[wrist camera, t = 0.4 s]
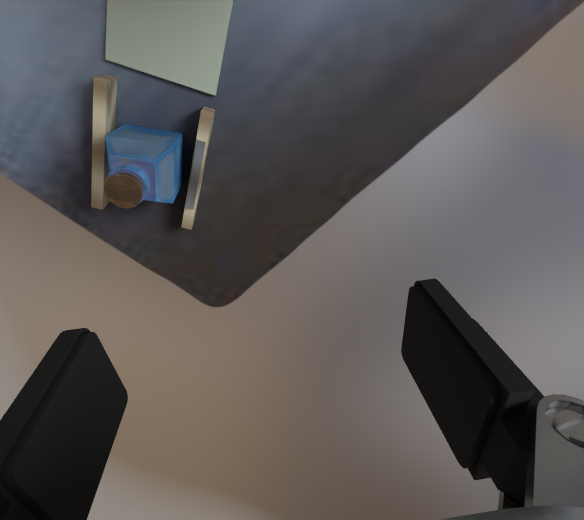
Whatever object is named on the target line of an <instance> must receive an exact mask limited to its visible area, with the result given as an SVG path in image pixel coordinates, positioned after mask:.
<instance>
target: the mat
mask: <svg viewBox="0 0 584 520" xmlns="http://www.w3.org/2000/svg"><path fill="white" fill-rule="evenodd" d="M232 6H233V0H107V25H106V56H105V59H106V60H109V61H112V62H115V63H118V64H121V65H124V66H127V67H130V68H133V69H136V70H139V71H142V72H145V73H148V74H151V75H154V76H157V77H160V78H163V79H166V80H169V81H172V82H175V83H178V84H181V85H184V86H187V87H190V88H194V89H197V90H200V91H203V92H206V93H209V94H212V95H215V96H216V92H217V87H218V81H219V76H220V70H221V65H222V60H223V54H224V49H225V43H226V38H227V33H228V27H229V22H230V16H231V11H232Z"/></svg>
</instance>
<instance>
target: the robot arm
mask: <svg viewBox="0 0 584 520" xmlns="http://www.w3.org/2000/svg"><path fill="white" fill-rule="evenodd" d="M401 351H402V356H403V360H404V361H405V364H406V365H407V367H408V369H409V371H410V373H411V375H412V377H413V379H414V380H415V382H416V384H417V386H418V388H419V390H420V392H421V393H422V395H423V397H424V399H425V401H426V403H427V404H428V407H429V408H430V410H431V412H432V414H433V416H434V418H435V420H436V421H437V423H438V425H439V427H440V429H441V431H442V433H443V434H444V436H445V438H446V440H447V442H448V444H449V446H450V448H451V449H452V451H453V453H454V455H455V457H456V459H457V460H458V462H459V464H460V465H461V466H462V467H463V468H468V470H469V471H470V473H471V475H472V476H473V479H474V480H479V479H485V478H490V477H491V479H492V480H493V482H494V484H495V485H496V487H497V489H498V490H500V493H499V502H498V510H496V511H490V512H484V513H477V514H471V515H466V516H459V517H452V518H446V519H440V520H584V401H582V400H580V399H578V398H575V397H571V396H567V395H555V394H553V395H549V396H546V397H544V396H543V395H542V394H541V392H540V391H539V390H538V389H537V388H536V387H535V386H534V385H533V383H532V382H531V381H530V380H529V379H528V378H527V377H526V376H525V375H524V374H523V372H522V371H521V370H520V369H519V368H518V367H517V366H516V365H515V364H514V362H513V361H512V360H511V359H510V358H509V357H508V356H507V355H506V353H505V352H504V351H503V350H502V349H501V348H500V347H499V346H498V345H497V344H496V342H495V341H494V340H493V339H492V338H491V337H490V336H489V335H488V333H487V332H486V331H485V330H484V329H483V328H482V327H481V326H480V325H479V324H478V323H477V322H476V321H475V320H474V319H472V318H471V317H470V316H469V315H468V314H467V312H466V311H465V310H464V309H463V308H462V307H461V306H460V304H459V303H458V302H457V301H456V300H455V299H454V298H453V297H452V296H451V294H450V293H449V292H448V291H447V290H446V289H445V288H444V286H443V285H442V284H441V283H440V282H439V281H438V280H437V279H429V280H422V281H416V282H415V284H414V286H413V287H410V289H409V294H408V302H407V309H406V318H405V325H404V333H403V341H402V349H401ZM127 400H128V395H127V391H126V389H125V387H124V385H123V384H122V382H121V380H120V378H119V376H118V374H117V372H116V370H115V368H114V367H113V365H112V363H111V361H110V359H109V357H108V355H107V354H106V351H105V349H104V348H103V346H102V344H101V342H100V340H99V338H98V336H97V335H96V333H94V332H90V331H89V330H88V329H87V328H81V329H74V330H66V331H63V332H62V333H60V335H59V336H58V337H57V339H56V340H55V342H54V343H53V344H52V346H51V347H50V349H49V350H48V352H47V353H46V355H45V356H44V358H43V359H42V361H41V362H40V364H39V365H38V366H37V368H36V369H35V371H34V372H33V374H32V375H31V377H30V378H29V380H28V381H27V382H26V384H25V385H24V387H23V388H22V390H21V391H20V393H19V394H18V395H17V397H16V399H15V400H14V402H13V403H12V404H11V406H10V407H9V409H8V410H7V412H6V413H5V414H4V416H3V417H2V419H1V420H0V520H87V517H88V514H89V511H90V509H91V505H92V503H93V500H94V497H95V494H96V491H97V488H98V485H99V483H100V480H101V477H102V474H103V471H104V468H105V465H106V462H107V460H108V457H109V454H110V451H111V448H112V445H113V442H114V439H115V437H116V434H117V431H118V428H119V425H120V422H121V419H122V416H123V413H124V411H125V408H126V404H127Z"/></svg>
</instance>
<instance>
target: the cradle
mask: <svg viewBox="0 0 584 520" xmlns="http://www.w3.org/2000/svg"><path fill="white" fill-rule="evenodd" d="M116 97H117V78H114V77H111V76H108V75H100V76H93V134H92V194H91V207H93V208H97V209H102V210H103V209H104V208H105V206H106V205H107V204H108V203H109V202H110V201H109V200H108V198H107V197H106V195H105V193H104V183H105V181H106V179H107V178H108V176H109V167H108V158H107V148H106V138H105V135H107V134H109V133H110V132H112V131H114V130H115V117H116ZM214 113H215V110H214V109H211V108H208V107H205V106H204V107H203V109H202V110H201V114H200V119H199V125H198V131H197V137H196V143H195V149H194V155H193V161H192V167H191V173H190V179H189V185H188V191H187V197H186V203H185V209H184V215H183V221H182V228H187V229H192V226H193V223H194V219H195V214H196V209H197V204H198V198H199V193H200V188H201V182H202V177H203V172H204V166H205V161H206V156H207V150H208V145H209V140H210V134H211V129H212V124H213V118H214Z"/></svg>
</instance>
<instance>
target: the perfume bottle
mask: <svg viewBox="0 0 584 520" xmlns="http://www.w3.org/2000/svg"><path fill="white" fill-rule="evenodd" d="M105 138H106V148H107V158H108V167H109V176H108V178H107V179H106V181H105V183H104V193H105V195H106V197H107V198H108V200H109V201H110V202H111V203H113V204H114V205H116V206H118V207H121V208H132V207H135V206H136V205H138V204H139V203H140V202H141V201H143V200H148V201H156V202H164V203H172V204H173V202H174V200H175V198H176V196H177V194H178V192H179V190H180V188H181V186H182V159H183V133H179V132H173V131H167V130H161V129H155V128H148V127H142V126H136V125H130V124H124V125H122V126H121V127H119V128H117V129H115V130H114V131H112V132H110V133H109V134H107V135H105Z"/></svg>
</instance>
